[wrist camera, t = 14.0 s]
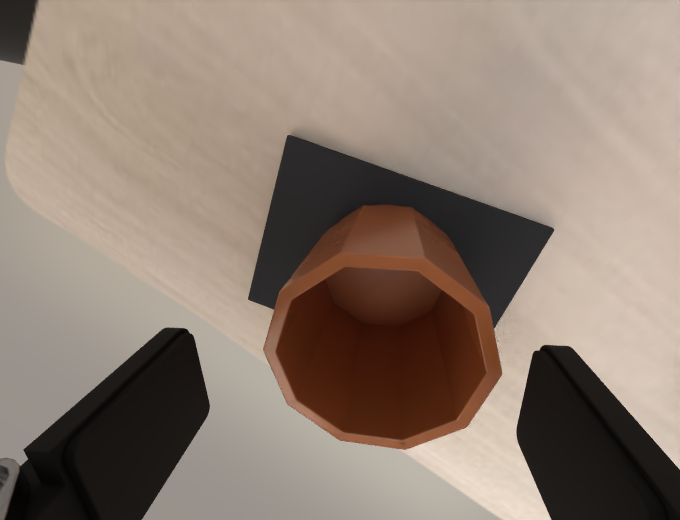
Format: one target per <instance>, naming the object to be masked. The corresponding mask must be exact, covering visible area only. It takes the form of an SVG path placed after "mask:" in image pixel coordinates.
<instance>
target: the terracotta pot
mask: <svg viewBox="0 0 680 520" xmlns="http://www.w3.org/2000/svg"><path fill="white" fill-rule="evenodd" d="M263 350H264V353H265V355H266V357H267V360H268V362H269V364H270V366H271V369H272V371H273V373H274V375H275V377H276V380H277V382H278V384H279V386H280V389H281V391H282V393H283V395H284V398H285V400H286V402H287V404H288V405H289V406H290V407H292V408H293V409H295V410H296V411H298V412H299V413H301V414H302V415H304V416H305V417H306V418H308V419H309V420H311V421H312V422H314V423H315V424H317V425H318V426H320V427H321V428H322V429H324V430H325V431H327V432H329V433H330V434H331V435H333V436H334V437H336V438H337V439H339V440H341V441H347V442H355V443H362V444H368V445H375V446H383V447H390V448H397V449H404V450H405V449H409V448H411V447H414V446H417V445H420V444H422V443H425V442H428V441H431V440H433V439H436V438H439V437H442V436H444V435H447V434H450V433H453V432H455V431H458V430H461V429H464V428H466V427H467V426H468V425H469V423H470V422H471V420H472V419H473V417H474V416H475V414H476V413H477V412H478V410H479V409H480V407H481V406H482V404H483V403H484V401H485V400H486V398H487V397H488V395H489V394H490V392H491V391H492V389H493V388H494V386H495V385H496V383H497V382H498V380H499V379H500V377H501V376H502V369H501V364H500V359H499V354H498V349H497V344H496V339H495V334H494V328H493V323H492V318H491V313H490V308H489V306H488V304H487V303H486V301H485V299H484V297H483V296H482V294H481V292H480V290H479V289H478V287H477V285H476V283H475V282H474V280H473V278H472V276H471V275H470V273H469V271H468V270H467V268H466V266H465V264H464V263H463V261H462V259H461V257H460V256H459V254H458V252H457V250H456V249H455V247H454V245H453V243H452V242H451V240H450V238H449V236H448V235H447V234H445V233H444V232H443V231H442V230H440V229H439V228H438V227H437V226H436V225H435V224H434V223H433V222H432V221H430V220H429V219H428V218H427V217H425V216H424V215H422V214H420V213H419V212H417V211H416V210H415V209H413V208H412V207H403V206H398V205H391V204H380V205H372V206H368V205H364V206H362V207H360V208H359V209H357V210H356V211H354V212H352V213H350V214H348V215H347V216H345V217H344V218H343V219H341V220H340V221H339V222H338V223H337V224H335V225H334V226H332V227H331V228H329V229H328V230H327V231H326V232H325V233H324V234H323V236H322V237H321V238H320V240H319V241H318V242H317V244H316V245H315V246H314V248H313V249H312V250H311V251H310V253H309V254H308V255H307V257H306V258H305V259H304V261H303V262H302V263H301V264H300V266H299V267H298V268H297V270H296V271H295V272H294V274H293V275H292V276H291V278H290V279H289V280H288V281H287V283H286V284H285V285H284V287H283V288H282V289H281V291H280V292H279V295H278V299H277V302H276V306H275V309H274V313H273V316H272V320H271V323H270V327H269V331H268V334H267V338H266V341H265V345H264V348H263Z"/></svg>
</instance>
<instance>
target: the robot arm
mask: <svg viewBox="0 0 680 520" xmlns="http://www.w3.org/2000/svg"><path fill="white" fill-rule="evenodd" d="M209 408H210V404H209V399H208V395H207V391H206V387H205V382H204V378H203V374H202V370H201V365H200V361H199V357H198V353H197V348H196V344H195V340H194V337H193V335H192V334H190V333H189V331H188V330H187V329H184V328H164V329H162V330H161V331H160V332H159V333H158V334H156V336H154V337H153V338H152V339H151V340H150V341H148V342H147V343H146V344H145V345H144V346H143V347H141V348H140V349H139V350H138V351H137V352H136V353H135V354H133V355H132V356H131V357H130V358H129V359H128V360H127V361H125V362H124V363H123V364H122V365H121V366H120V367H118V368H117V369H116V370H115V371H114V372H113V373H111V374H110V375H109V376H108V377H107V378H106V379H105V380H103V381H102V382H101V383H100V384H99V385H98V386H96V387H95V388H94V389H93V390H92V391H91V392H90V393H88V394H87V395H86V396H85V397H84V398H83V399H81V400H80V401H79V402H78V403H77V404H76V405H75V406H74V407H72V408H71V409H70V410H69V411H68V412H66V413H65V414H64V415H63V416H62V417H61V418H60V419H58V420H57V421H56V422H55V423H54V424H53V425H52V426H50V427H49V428H48V429H47V430H46V431H45V432H44V433H42V434H41V435H40V436H39V437H38V438H36V440H34V441H33V442H32V443H31V444H29V445H28V446H27V447H26V448H25V449H24V452H25V454H26V456H27V457H28V460H27V461H26V462H25V463H24V464H22V465H21V466H19V464H18V463H17V462H16V460H13V459H9V458H2V459H0V520H142V518H143V517H144V515H145V514H146V512H147V511H148V509H149V507H150V506H151V504H152V503H153V501H154V500H155V498H156V496H157V495H158V493H159V492H160V490H161V489H162V487H163V485H164V484H165V482H166V480H167V479H168V477H169V476H170V474H171V473H172V471H173V470H174V468H175V466H176V465H177V463H178V462H179V460H180V459H181V457H182V455H183V454H184V452H185V451H186V449H187V447H188V446H189V444H190V443H191V441H192V440H193V438H194V436H195V435H196V433H197V432H198V430H199V429H200V427H201V426H202V424H203V422H204V421H205V419H206V417H207V415H208V413H209ZM516 431H517V440H518V443H519V446H520V448H521V451H522V453H523V455H524V457H525V460H526V462H527V464H528V467H529V469H530V471H531V474H532V476H533V478H534V481H535V483H536V485H537V487H538V490H539V492H540V494H541V497H542V499H543V501H544V504H545V506H546V508H547V511H548V513H549V515H550V517H551V520H680V470H679V468H678V467H677V466H676V465H675V464H674V463H673V462H672V461H671V459H670V458H669V457H668V456H667V455H666V454H665V453H664V451H663V450H662V449H661V448H660V447H659V446H658V445H657V444H656V442H655V441H654V440H653V439H652V438H651V437H650V436H649V434H648V433H647V432H646V431H645V430H644V429H643V428H642V427H641V425H640V424H639V423H638V422H637V421H636V420H635V419H634V417H633V416H632V415H631V414H630V413H629V412H628V411H627V410H626V408H625V407H624V406H623V405H622V404H621V403H620V402H619V400H618V399H617V398H616V397H615V396H614V395H613V394H612V393H611V391H610V390H609V389H608V388H607V387H606V386H605V385H604V383H603V382H602V381H601V380H600V379H599V378H598V377H597V376H596V374H595V373H594V372H593V371H592V370H591V369H590V368H589V366H588V365H587V364H586V363H585V362H584V361H583V360H582V359H581V357H580V356H579V355H578V354H577V353H576V352H575V351H574V349H572V348H571V347H569V346H554V345H544V346H542V347H541V348H540V351H534V353H533V355H532V360H531V364H530V369H529V374H528V378H527V383H526V388H525V392H524V397H523V401H522V406H521V411H520V415H519V420H518V424H517V430H516Z"/></svg>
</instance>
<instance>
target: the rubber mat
mask: <svg viewBox="0 0 680 520" xmlns="http://www.w3.org/2000/svg"><path fill="white" fill-rule="evenodd" d="M380 204H391V205H398V206H403V207H412V208H413V209H415V210H416V211H417V212H419V213H420V214H422V215H424V216H425V217H427V218H428V219H429V220H430V221H432V222H433V223H434V224H435V225H436V226H437V227H438V228H439V229H440V230H442V231H443V232H444V233H445V234H447V235H448V236H449V238H450V240H451V242H452V243H453V245H454V247H455V249H456V250H457V252H458V254H459V256H460V257H461V259H462V261H463V263H464V264H465V266H466V268H467V270H468V271H469V273H470V275H471V276H472V278H473V280H474V282H475V283H476V285H477V287H478V289H479V290H480V292H481V294H482V296H483V297H484V299H485V301H486V303H487V304H488V306H489V308H490V313H491V318H492V323H493V328H495V326H496V324H497V323H498V321H499V320H500V318H501V316H502V315H503V313H504V311H505V310H506V308H507V306H508V305H509V303H510V302H511V300H512V298H513V297H514V295H515V293H516V292H517V290H518V289H519V287H520V285H521V284H522V282H523V280H524V279H525V277H526V275H527V274H528V272H529V271H530V269H531V267H532V266H533V264H534V262H535V261H536V259H537V258H538V256H539V254H540V253H541V251H542V249H543V248H544V246H545V244H546V243H547V241H548V240H549V238H550V236H551V235H552V233H553V231H554V229H553V228H551V227H549V226H546V225H543V224H540V223H538V222H535V221H532V220H529V219H526V218H523V217H521V216H518V215H515V214H512V213H509V212H506V211H504V210H501V209H498V208H495V207H492V206H490V205H487V204H484V203H481V202H478V201H475V200H473V199H470V198H467V197H464V196H461V195H458V194H456V193H453V192H450V191H447V190H444V189H441V188H439V187H436V186H433V185H430V184H427V183H424V182H422V181H419V180H416V179H413V178H410V177H408V176H405V175H402V174H399V173H396V172H393V171H391V170H388V169H385V168H382V167H379V166H376V165H374V164H371V163H368V162H365V161H362V160H359V159H357V158H354V157H351V156H348V155H345V154H343V153H340V152H337V151H334V150H331V149H328V148H326V147H323V146H320V145H317V144H314V143H311V142H309V141H306V140H303V139H300V138H297V137H294V136H292V135H288V136H287V139H286V143H285V147H284V151H283V156H282V160H281V164H280V168H279V172H278V176H277V181H276V185H275V189H274V193H273V197H272V201H271V205H270V210H269V214H268V218H267V222H266V226H265V230H264V235H263V239H262V243H261V247H260V251H259V255H258V260H257V264H256V268H255V272H254V276H253V280H252V285H251V289H250V293H249V297H248V300H250V301H253V302H256V303H258V304H261V305H264V306H266V307H269V308H272V309H275V306H276V302H277V299H278V295H279V292H280V291H281V289H282V288H283V287H284V285H285V284H286V283H287V281H288V280H289V279H290V278H291V276H292V275H293V274H294V272H295V271H296V270H297V268H298V267H299V266H300V264H301V263H302V262H303V261H304V259H305V258H306V257H307V255H308V254H309V253H310V251H311V250H312V249H313V248H314V246H315V245H316V244H317V242H318V241H319V240H320V238H321V237H322V236H323V234H324V233H325V232H326V231H327V230H328V229H329V228H331V227H332V226H334V225H335V224H337V223H338V222H339V221H340V220H341V219H343V218H344V217H345V216H347V215H348V214H350V213H352V212H354V211H356V210H357V209H359V208H360V207H362V206H364V205H368V206H372V205H380Z"/></svg>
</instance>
